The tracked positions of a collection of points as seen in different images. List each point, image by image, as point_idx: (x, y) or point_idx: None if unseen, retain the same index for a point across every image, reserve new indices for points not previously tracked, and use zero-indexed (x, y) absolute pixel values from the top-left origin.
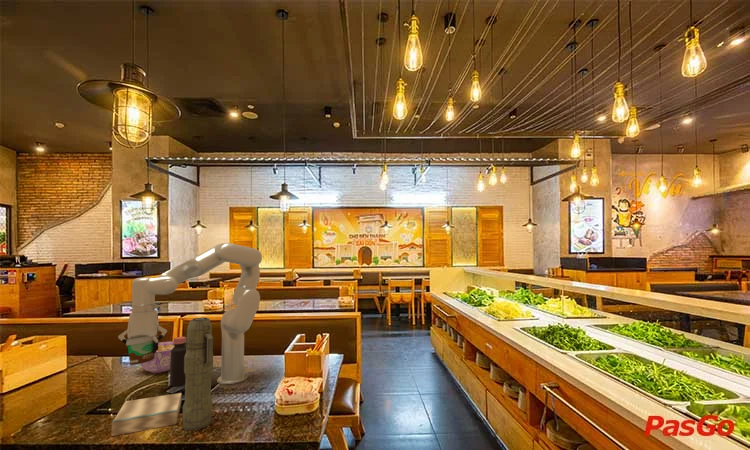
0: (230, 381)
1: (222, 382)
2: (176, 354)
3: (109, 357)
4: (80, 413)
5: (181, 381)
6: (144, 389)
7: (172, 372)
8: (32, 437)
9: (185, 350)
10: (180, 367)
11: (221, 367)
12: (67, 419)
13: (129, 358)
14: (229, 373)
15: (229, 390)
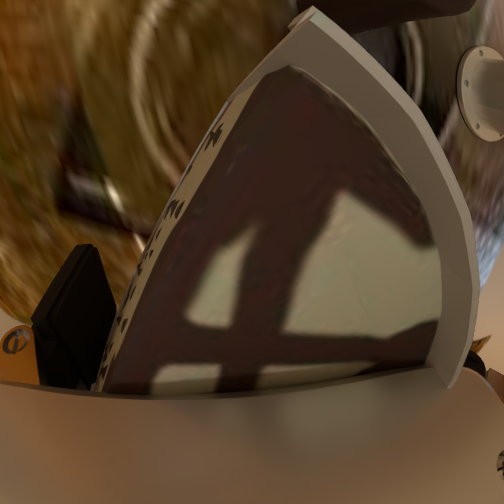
0: (484, 136)
1: (468, 122)
2: (412, 6)
3: None
4: (39, 203)
5: (354, 33)
6: (187, 7)
7: (333, 10)
8: (32, 311)
9: (468, 9)
10: (384, 25)
11: (501, 93)
12: (32, 238)
13: (118, 316)
14: (501, 132)
15: (466, 186)
